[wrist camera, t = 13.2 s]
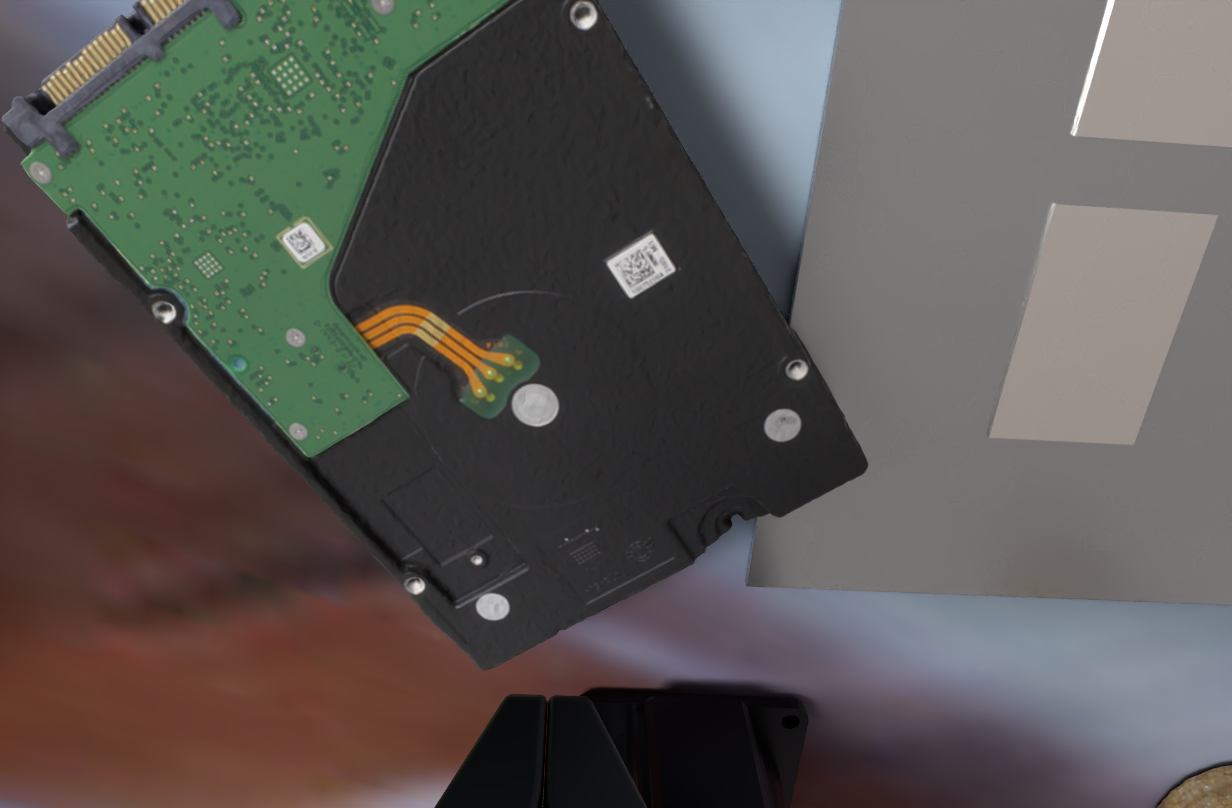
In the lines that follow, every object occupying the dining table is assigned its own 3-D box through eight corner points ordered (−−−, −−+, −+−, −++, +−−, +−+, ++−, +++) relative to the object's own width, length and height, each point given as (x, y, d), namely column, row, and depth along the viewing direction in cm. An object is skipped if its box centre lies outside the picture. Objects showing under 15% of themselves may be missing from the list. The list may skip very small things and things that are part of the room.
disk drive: (849, 406, 21) (462, -232, 15) (885, 466, 18) (438, -271, 13) (496, 605, 23) (47, 115, 18) (485, 682, 21) (-45, 140, 15)
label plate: (1255, 601, 24) (1263, 608, 24) (745, 581, 23) (747, 588, 23) (1770, -478, 14) (1793, -486, 14) (938, -579, 14) (944, -590, 13)
